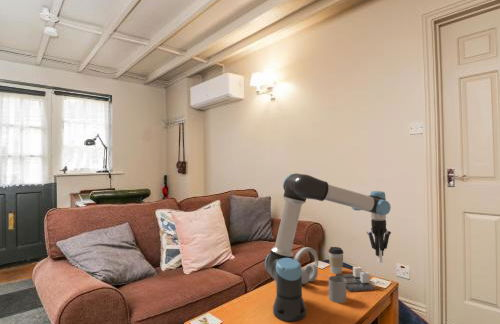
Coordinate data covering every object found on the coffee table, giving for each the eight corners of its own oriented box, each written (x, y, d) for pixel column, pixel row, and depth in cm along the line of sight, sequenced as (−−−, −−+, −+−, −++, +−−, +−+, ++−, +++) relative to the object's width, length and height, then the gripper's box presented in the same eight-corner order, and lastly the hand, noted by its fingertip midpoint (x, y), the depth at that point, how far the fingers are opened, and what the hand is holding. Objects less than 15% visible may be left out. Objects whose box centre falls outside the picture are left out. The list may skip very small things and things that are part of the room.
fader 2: (362, 283, 158) (362, 273, 158) (360, 280, 161) (359, 271, 161) (369, 282, 159) (369, 273, 159) (366, 280, 162) (366, 271, 162)
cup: (347, 303, 141) (346, 283, 141) (329, 302, 143) (329, 282, 143) (345, 295, 150) (344, 276, 150) (328, 294, 151) (328, 275, 151)
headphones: (299, 289, 157) (299, 252, 157) (289, 284, 164) (288, 249, 164) (322, 280, 169) (322, 246, 168) (312, 276, 175) (311, 243, 175)
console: (348, 291, 154) (348, 285, 154) (335, 277, 172) (335, 272, 172) (373, 289, 155) (373, 284, 155) (358, 276, 173) (358, 271, 173)
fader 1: (355, 277, 166) (355, 268, 166) (352, 275, 169) (352, 266, 169) (362, 277, 167) (361, 268, 167) (359, 274, 170) (359, 266, 170)
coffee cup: (345, 270, 183) (345, 247, 183) (341, 275, 175) (341, 250, 175) (331, 268, 188) (330, 245, 187) (326, 272, 180) (326, 248, 180)
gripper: (370, 221, 156) (371, 264, 157) (393, 220, 158) (394, 263, 158) (364, 218, 164) (365, 260, 164) (385, 217, 165) (387, 258, 165)
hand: (379, 261), depth 161 cm, fingers closed
